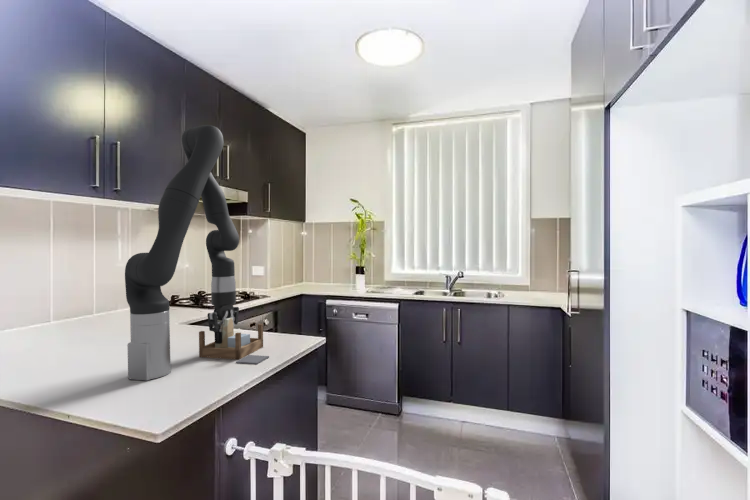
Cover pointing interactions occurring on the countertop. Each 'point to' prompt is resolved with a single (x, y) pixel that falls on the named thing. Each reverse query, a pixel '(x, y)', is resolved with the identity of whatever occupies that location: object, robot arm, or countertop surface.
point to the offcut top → (244, 340)
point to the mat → (252, 359)
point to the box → (225, 333)
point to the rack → (227, 353)
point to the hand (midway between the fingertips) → (224, 340)
